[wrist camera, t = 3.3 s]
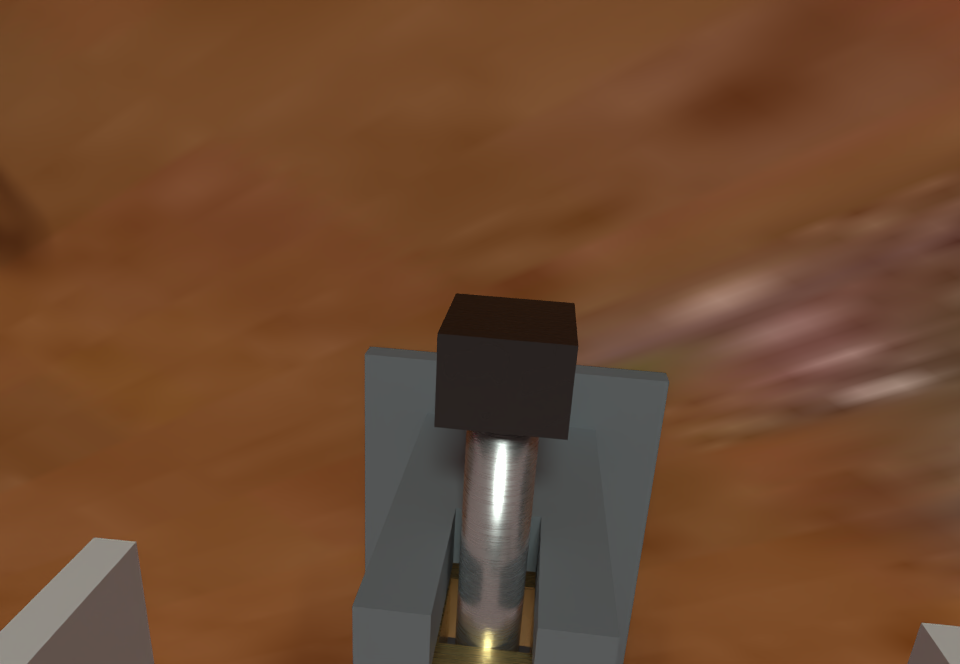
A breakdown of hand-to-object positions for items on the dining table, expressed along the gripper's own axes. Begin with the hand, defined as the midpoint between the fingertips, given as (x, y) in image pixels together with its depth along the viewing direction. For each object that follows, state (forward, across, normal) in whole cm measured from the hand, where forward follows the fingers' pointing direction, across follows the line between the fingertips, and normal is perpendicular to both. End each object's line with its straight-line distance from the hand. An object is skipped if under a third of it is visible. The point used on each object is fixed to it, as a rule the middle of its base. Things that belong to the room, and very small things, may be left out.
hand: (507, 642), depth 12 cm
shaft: (+13, -1, -9) cm, 16 cm away
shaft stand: (+21, -1, -14) cm, 25 cm away
